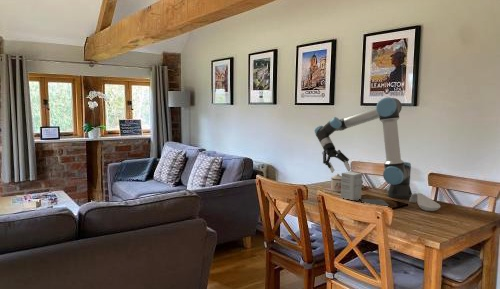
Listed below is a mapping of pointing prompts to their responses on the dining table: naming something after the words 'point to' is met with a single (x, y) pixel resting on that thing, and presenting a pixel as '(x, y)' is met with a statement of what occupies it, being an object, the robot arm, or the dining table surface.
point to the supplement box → (351, 185)
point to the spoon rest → (424, 202)
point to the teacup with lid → (336, 183)
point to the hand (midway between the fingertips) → (341, 170)
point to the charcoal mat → (375, 201)
